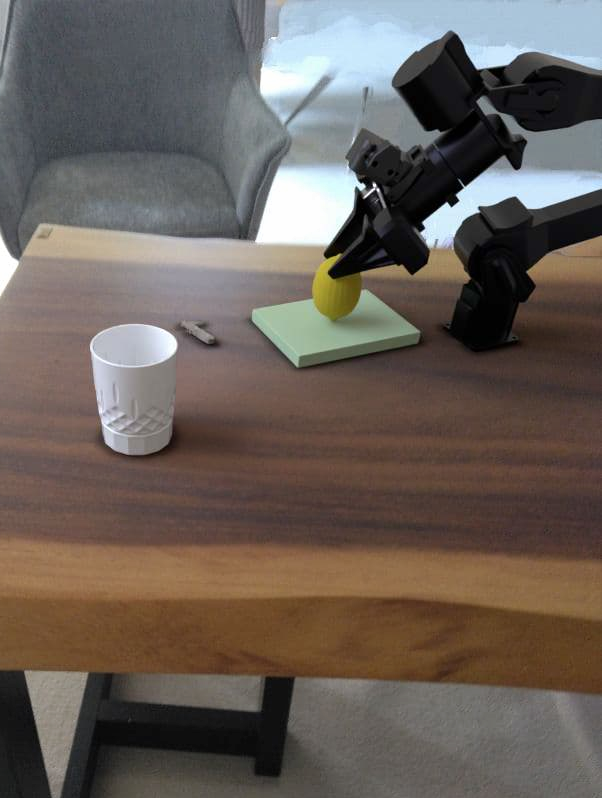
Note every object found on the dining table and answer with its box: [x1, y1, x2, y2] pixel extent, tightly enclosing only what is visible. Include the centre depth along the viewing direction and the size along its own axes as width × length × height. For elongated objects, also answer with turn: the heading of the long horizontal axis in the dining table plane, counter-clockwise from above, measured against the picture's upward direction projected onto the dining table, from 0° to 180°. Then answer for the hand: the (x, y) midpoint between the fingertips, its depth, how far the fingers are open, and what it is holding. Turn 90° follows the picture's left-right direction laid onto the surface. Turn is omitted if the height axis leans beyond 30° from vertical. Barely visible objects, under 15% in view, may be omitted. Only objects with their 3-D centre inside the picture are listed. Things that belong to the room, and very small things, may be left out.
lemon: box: [311, 254, 363, 321], centre depth 91 cm, size 6×6×8 cm
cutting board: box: [251, 288, 421, 369], centre depth 94 cm, size 16×12×2 cm
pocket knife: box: [180, 319, 215, 345], centre depth 93 cm, size 6×1×3 cm
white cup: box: [89, 323, 179, 456], centre depth 75 cm, size 8×8×10 cm
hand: (327, 266), depth 89 cm, fingers closed on lemon, 4 cm apart
